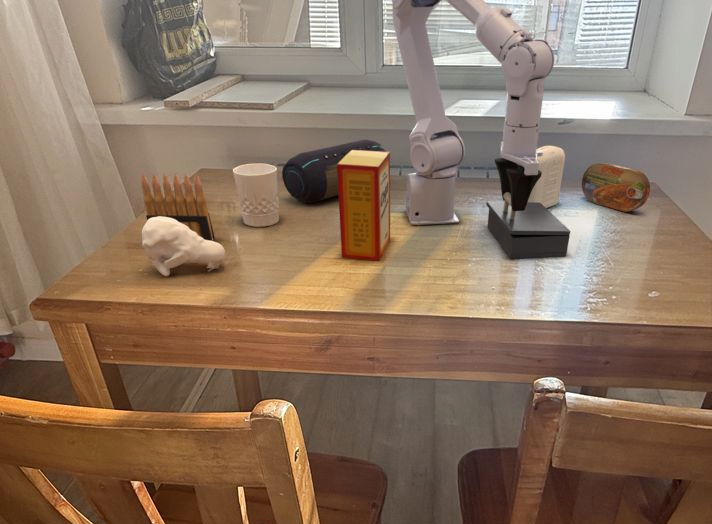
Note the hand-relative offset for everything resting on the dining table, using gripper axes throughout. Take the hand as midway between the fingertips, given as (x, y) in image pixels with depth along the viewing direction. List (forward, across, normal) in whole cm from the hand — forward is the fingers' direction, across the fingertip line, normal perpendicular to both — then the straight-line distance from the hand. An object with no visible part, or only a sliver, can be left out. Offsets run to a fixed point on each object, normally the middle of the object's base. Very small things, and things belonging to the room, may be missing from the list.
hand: (513, 205), depth 102 cm
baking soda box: (+7, 0, +26) cm, 27 cm away
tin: (+7, +17, -28) cm, 34 cm away
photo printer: (+7, +18, -12) cm, 23 cm away
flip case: (+7, 0, -3) cm, 7 cm away
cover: (+3, 0, -3) cm, 4 cm away
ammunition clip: (+7, +7, +58) cm, 59 cm away
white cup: (+7, +16, +45) cm, 48 cm away
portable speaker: (+7, +32, +29) cm, 44 cm away
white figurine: (+7, -5, +55) cm, 56 cm away
